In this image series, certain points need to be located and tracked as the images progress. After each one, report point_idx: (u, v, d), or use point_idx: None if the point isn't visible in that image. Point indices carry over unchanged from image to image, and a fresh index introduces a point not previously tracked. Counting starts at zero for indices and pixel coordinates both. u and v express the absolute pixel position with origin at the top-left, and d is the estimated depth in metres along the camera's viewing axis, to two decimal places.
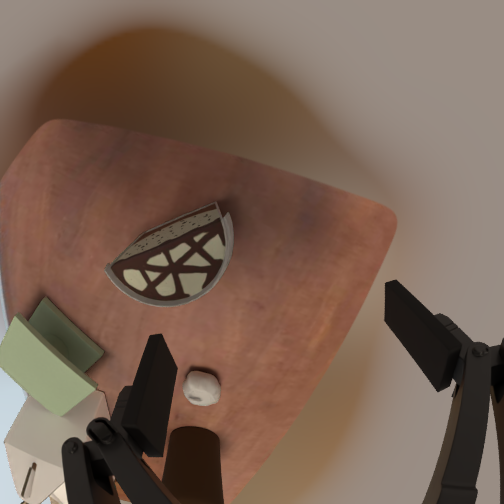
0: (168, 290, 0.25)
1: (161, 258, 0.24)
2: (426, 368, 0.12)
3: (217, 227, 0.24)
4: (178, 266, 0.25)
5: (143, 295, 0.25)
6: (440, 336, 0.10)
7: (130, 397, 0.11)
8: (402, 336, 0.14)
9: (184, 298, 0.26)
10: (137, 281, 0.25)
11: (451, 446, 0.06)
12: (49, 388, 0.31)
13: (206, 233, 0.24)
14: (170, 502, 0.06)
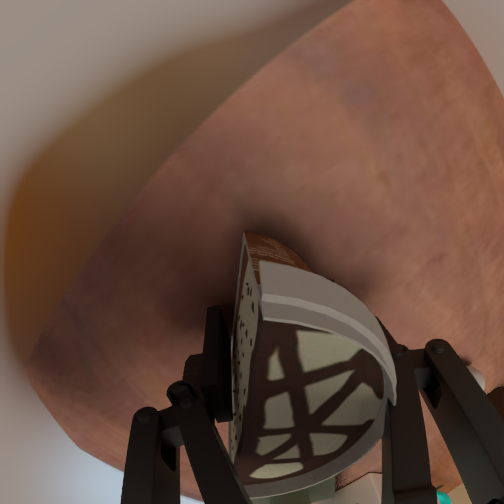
0: (334, 443, 0.10)
1: (269, 441, 0.09)
2: None
3: (278, 323, 0.08)
4: (308, 421, 0.09)
5: (310, 470, 0.11)
6: None
7: (203, 361, 0.13)
8: None
9: (369, 427, 0.10)
10: (282, 469, 0.11)
11: (391, 453, 0.07)
12: None
13: (277, 352, 0.08)
14: (233, 477, 0.07)
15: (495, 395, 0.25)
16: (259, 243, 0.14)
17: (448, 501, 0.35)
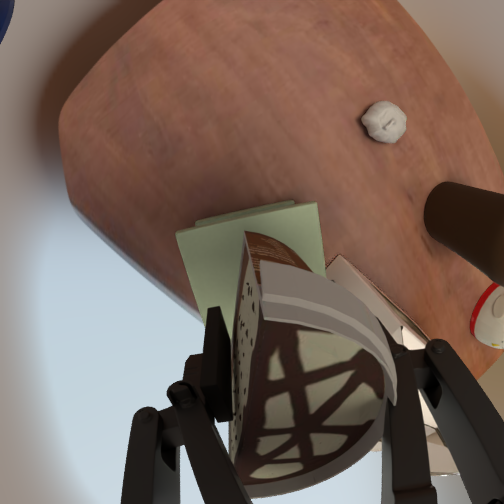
0: (334, 443, 0.10)
1: (270, 441, 0.09)
2: None
3: (279, 323, 0.08)
4: (308, 421, 0.09)
5: (310, 470, 0.11)
6: None
7: (203, 361, 0.13)
8: None
9: (369, 428, 0.10)
10: (282, 469, 0.11)
11: (391, 453, 0.07)
12: None
13: (277, 351, 0.08)
14: (233, 477, 0.07)
15: (447, 182, 0.35)
16: (260, 243, 0.14)
17: None
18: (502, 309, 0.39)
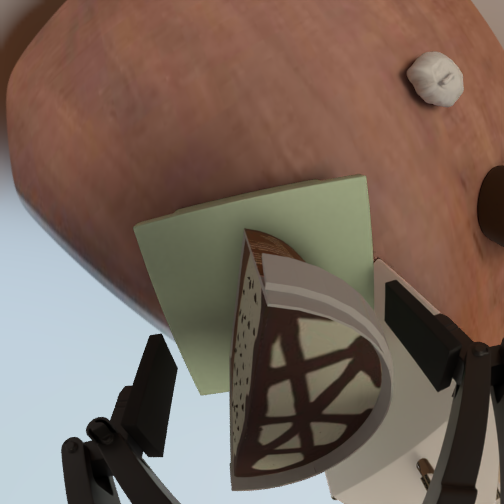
0: (334, 432, 0.11)
1: (271, 429, 0.10)
2: (426, 368, 0.11)
3: (281, 311, 0.08)
4: (309, 410, 0.10)
5: (311, 460, 0.11)
6: (440, 336, 0.10)
7: (130, 397, 0.11)
8: (402, 336, 0.14)
9: (368, 417, 0.10)
10: (283, 460, 0.11)
11: (451, 446, 0.06)
12: None
13: (279, 339, 0.09)
14: (170, 502, 0.06)
15: (503, 166, 0.23)
16: (259, 239, 0.14)
17: None
18: None
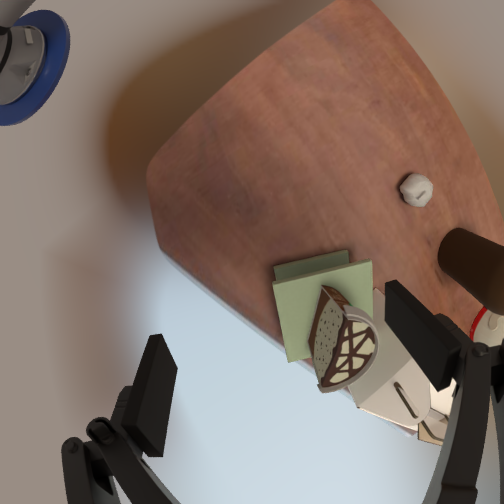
0: (359, 362, 0.33)
1: (341, 359, 0.32)
2: (426, 368, 0.12)
3: (349, 320, 0.30)
4: (352, 351, 0.32)
5: (351, 377, 0.33)
6: (440, 336, 0.10)
7: (130, 397, 0.11)
8: (402, 336, 0.14)
9: (371, 356, 0.32)
10: (341, 376, 0.33)
11: (451, 446, 0.06)
12: None
13: (347, 327, 0.31)
14: (170, 502, 0.06)
15: (457, 229, 0.45)
16: (331, 292, 0.36)
17: None
18: (496, 323, 0.49)
